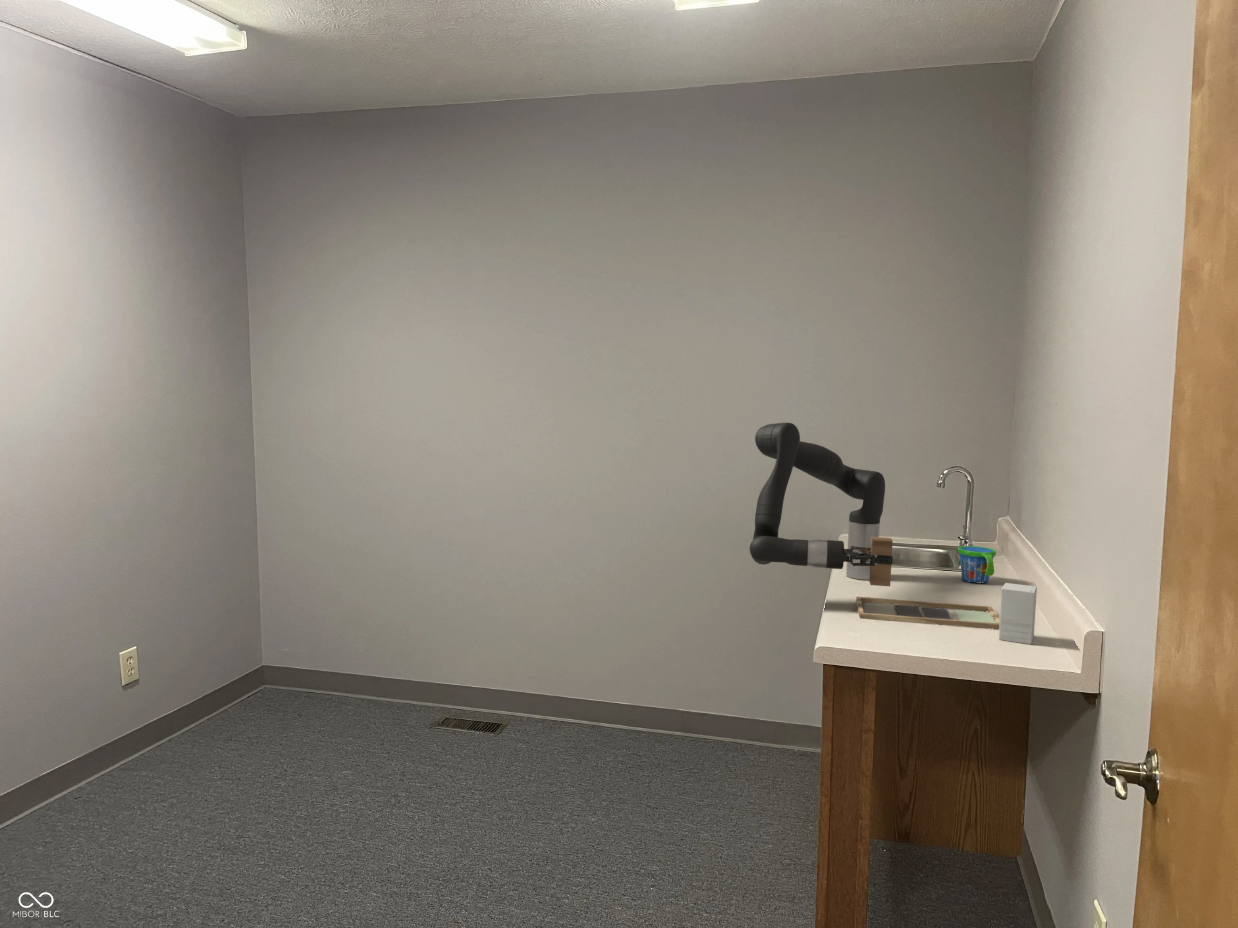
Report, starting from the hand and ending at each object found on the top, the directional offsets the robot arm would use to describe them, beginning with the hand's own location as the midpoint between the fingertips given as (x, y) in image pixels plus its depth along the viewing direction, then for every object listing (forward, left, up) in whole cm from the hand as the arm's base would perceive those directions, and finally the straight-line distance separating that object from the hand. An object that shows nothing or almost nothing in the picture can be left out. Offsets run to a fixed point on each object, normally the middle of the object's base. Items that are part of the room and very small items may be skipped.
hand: (891, 557), depth 229 cm
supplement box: (+16, +28, -15) cm, 36 cm away
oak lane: (0, +10, -14) cm, 17 cm away
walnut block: (0, -3, -7) cm, 7 cm away
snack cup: (-45, +29, -15) cm, 55 cm away
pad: (0, +22, -14) cm, 26 cm away
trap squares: (0, +10, -14) cm, 17 cm away
